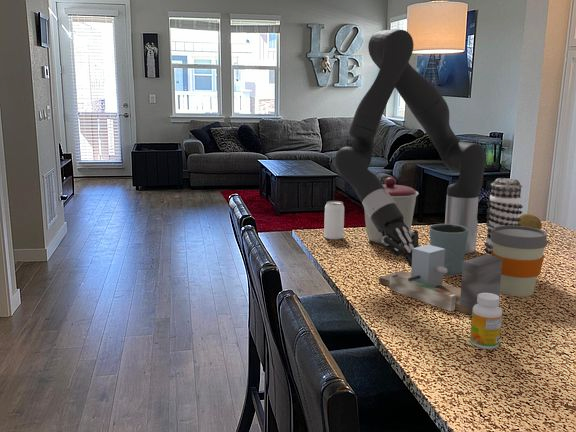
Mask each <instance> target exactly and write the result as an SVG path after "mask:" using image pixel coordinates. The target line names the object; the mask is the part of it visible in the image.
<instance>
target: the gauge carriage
mask: <svg viewBox="0 0 576 432" xmlns="http://www.w3.org/2000/svg"><path fill="white" fill-rule="evenodd" d="M444 259H445V249H444V248H440V247H436V246H432V245H430V244H424V245H421V246H420V245H419V247H416V248H413V250H412V268H411V267H410V269H411V270H410V271H411V272H410V273H411V278H408V281H415V282H418V283H423V284H426V285H430V286H433V287H436V286H439V285H443V283H444V274H446V273H447V272H448V270H447V268H444ZM443 273H444V274H443Z"/></svg>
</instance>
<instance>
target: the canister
mask: <svg viewBox="0 0 576 432" xmlns="http://www.w3.org/2000/svg"><path fill="white" fill-rule="evenodd" d="M396 183H397V180H396V179H395V178H394V177H387V178H385V179H384V183H382V185H383V187H384V188H385V190H386V191H387V192H388V193H389V195H390V196H391V197H392V199H393V201H394V202H395V204H396V205H397V207H398V208H399V210H400V212H401V213H402V215H403V217H404V219H403V222H404V224H405V225H406V226H407V227H408V228H409V230H411V229H412V224H413V220H414V219H413V218H414V217H413V216H414V212H415V206H416V201H417V196H419V194H420V193H419V191H417V190H416V189H414V188H412V187H411V186H407V185H399V184H396ZM363 209H364V221H365V231H366V236H367V238H368V239H369V240H370V241H371V242H372V243H375V244H379V245H380V242H381V241H382V239H383V236H382V233H380V232H378V231H377V229H376V227H375V226H374V224H373V222H372V221H371V219H370V217H369V216H368V214H367V212H366V210H365V208H364V207H363ZM411 231H412V230H411Z"/></svg>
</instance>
